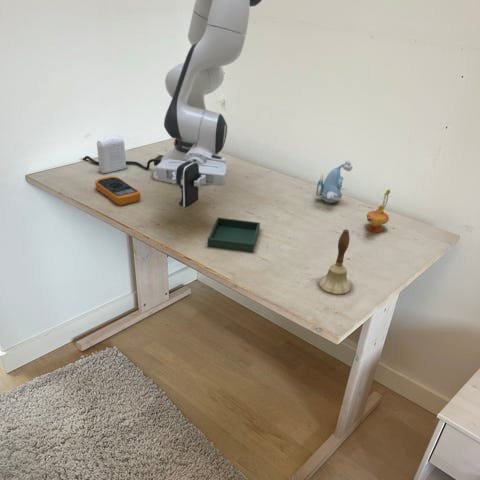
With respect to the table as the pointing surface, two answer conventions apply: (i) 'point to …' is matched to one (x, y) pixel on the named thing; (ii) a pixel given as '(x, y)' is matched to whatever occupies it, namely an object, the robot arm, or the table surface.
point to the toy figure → (332, 184)
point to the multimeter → (117, 190)
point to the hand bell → (337, 270)
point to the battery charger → (187, 182)
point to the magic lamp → (378, 217)
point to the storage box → (234, 234)
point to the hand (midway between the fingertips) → (185, 183)
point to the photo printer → (111, 154)
